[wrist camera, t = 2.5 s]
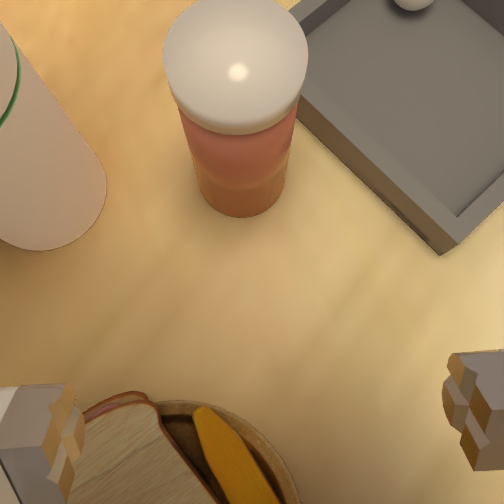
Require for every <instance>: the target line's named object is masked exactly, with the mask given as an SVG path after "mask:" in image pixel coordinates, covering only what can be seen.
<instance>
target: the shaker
mask: <svg viewBox="0 0 504 504" xmlns="http://www.w3.org/2000/svg"><path fill="white" fill-rule="evenodd" d="M163 64H164V69H165V73H166V76H167V80H168V83H169V87H170V90H171V94H172V96H173V98H174V100H175V102H176V104H177V106H178V109H179V113H180V116H181V120H182V124H183V127H184V131H185V134H186V138H187V142H188V145H189V149H190V153H191V156H192V160H193V163H194V167H195V171H196V174H197V178H198V181H199V185H200V189H201V192H202V194H203V196H204V197H205V199H206V200H207V202H208V203H209V204H210V205H211V206H212V207H213V208H214V209H216V210H217V211H219V212H221V213H223V214H225V215H228V216H232V217H239V218H240V217H251V216H255V215H258V214H260V213H262V212H264V211H266V210H267V209H269V208H270V207H271V206H272V205H273V204H274V203H275V202H276V201H277V199H278V198H279V196H280V194H281V192H282V190H283V186H284V181H285V175H286V170H287V164H288V158H289V152H290V146H291V140H292V135H293V129H294V123H295V117H296V111H297V106H298V100H299V98H300V95H301V93H302V89H303V85H304V81H305V75H306V69H307V64H308V46H307V41H306V38H305V35H304V32H303V30H302V28H301V27H300V25H299V23H298V22H297V20H296V19H295V18H294V17H293V16H292V15H291V14H290V13H289V11H287V10H286V9H285V8H284V7H282V6H281V5H279V4H278V3H276V2H274V1H272V0H200V1H198V2H196V3H194V4H193V5H191V6H189V7H188V8H187V9H186V10H185V11H183V12H182V13H181V14H180V15H179V16H178V17H177V19H176V20H175V21H174V23H173V24H172V26H171V27H170V29H169V31H168V33H167V36H166V39H165V42H164V47H163Z"/></svg>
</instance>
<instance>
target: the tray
mask: <svg viewBox="0 0 504 504" xmlns="http://www.w3.org/2000/svg"><path fill="white" fill-rule="evenodd" d="M289 13H290V14H291V15H292V16H293V17H294V18H295V19H296V20H297V22H298V23H299V25H300V27H301V28H302V30H303V32H304V35H305V38H306V41H307V46H308V64H307V69H306V75H305V81H304V85H303V89H302V93H301V95H300V98H299V100H298V106H297V111H296V117H297V118H298V119H299V120H300V121H301V122H302V123H303V124H304V125H305V126H306V127H307V128H308V129H309V130H310V131H311V132H312V133H313V134H314V135H315V136H316V137H317V138H318V139H320V140H321V141H322V142H323V143H324V144H325V145H326V146H327V147H328V148H329V149H330V150H331V151H332V152H333V153H334V154H335V155H336V156H337V157H338V158H339V159H340V160H341V161H342V162H343V163H344V164H345V165H346V166H348V167H349V168H350V169H351V170H352V171H353V172H354V173H355V174H356V175H357V176H358V177H359V178H360V179H361V180H362V181H363V182H364V183H365V184H366V185H367V186H368V187H369V188H370V189H371V190H372V191H373V192H374V193H376V194H377V195H378V196H379V197H380V198H381V199H382V200H383V201H384V202H385V203H386V204H387V205H388V206H389V207H390V208H391V209H392V210H393V211H394V212H395V213H396V214H397V215H398V216H399V217H400V218H401V219H402V220H404V221H405V222H406V223H407V224H408V225H409V226H410V227H411V228H412V229H413V230H414V231H415V232H416V233H417V234H418V235H419V236H420V237H421V238H422V239H423V240H424V241H425V242H426V243H427V244H428V245H429V246H430V247H431V248H433V249H434V250H435V251H436V252H437V253H438V254H439V255H440V256H441V255H442V254H444V253H446V252H447V251H449V250H450V249H452V248H454V247H455V246H457V245H458V244H460V243H461V242H462V241H463V240H464V239H465V238H466V237H467V236H468V235H469V234H470V233H471V232H472V231H473V230H474V229H475V228H476V227H477V226H478V225H479V224H480V223H481V222H482V221H483V220H484V219H485V218H486V217H487V216H488V215H489V214H490V213H491V212H492V211H493V210H495V209H496V208H497V207H498V206H499V205H500V204H501V203H502V202H503V201H504V0H434V1H433V2H432V3H431V4H430V5H428V6H427V7H425V8H423V9H420V10H416V11H409V10H405V9H403V8H401V7H400V6H398V5H397V4H396V3H395V1H394V0H301V1H300V2H299V3H298V4H296V5H295V6H294V7H292V8H291V9H290V10H289Z"/></svg>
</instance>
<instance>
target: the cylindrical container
mask: <svg viewBox="0 0 504 504" xmlns="http://www.w3.org/2000/svg"><path fill="white" fill-rule="evenodd" d="M106 190H107V182H106V176H105V171H104V169H103V167H102V164H101V162H100V161H99V159H98V158H97V156H96V155H95V153H94V152H93V150H92V149H91V148H90V146H89V145H88V143H87V142H86V141H85V139H84V138H83V136H82V135H81V134H80V132H79V131H78V130H77V128H76V127H75V125H74V124H73V123H72V121H71V120H70V118H69V117H68V116H67V114H66V113H65V111H64V110H63V109H62V107H61V106H60V104H59V103H58V102H57V100H56V99H55V97H54V96H53V95H52V93H51V92H50V90H49V89H48V88H47V86H46V85H45V83H44V82H43V81H42V79H41V78H40V76H39V75H38V74H37V72H36V71H35V69H34V68H33V67H32V65H31V64H30V62H29V61H28V60H27V58H26V57H25V55H24V54H23V53H22V51H21V50H20V49H19V47H18V46H17V44H16V43H15V42H14V40H13V39H12V37H11V36H10V35H9V33H8V32H7V30H6V29H5V28H4V26H3V25H2V23H1V22H0V239H1V240H3V241H5V242H7V243H9V244H11V245H13V246H16V247H18V248H21V249H26V250H32V251H45V250H51V249H55V248H60V247H62V246H64V245H67V244H69V243H71V242H73V241H74V240H76V239H78V238H79V237H81V236H82V235H83V234H84V233H85V232H86V231H87V230H88V229H90V227H91V226H92V225H93V224H94V222H95V221H96V220H97V218H98V216H99V214H100V212H101V210H102V208H103V205H104V202H105V198H106Z"/></svg>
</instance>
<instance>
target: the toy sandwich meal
mask: <svg viewBox="0 0 504 504" xmlns="http://www.w3.org/2000/svg"><path fill="white" fill-rule="evenodd" d="M82 414H83V417H84V423H85V437H84V445H83V448H82V452H81V455H80V456H79V457H78V458H77V459H76V460H75V461H74V462H73V463H72V467H73V470H74V472H75V476H74V480H73V483H72V487H71V490H70V493H69V497H68V500H67V504H301V502H300V499H299V495H298V492H297V489H296V487H295V484H294V482H293V479H292V477H291V475H290V473H289V471H288V469H287V467H286V465H285V464H284V462H283V460H282V459H281V457H280V456H279V454H278V453H277V452H276V450H275V449H274V448H273V446H272V445H271V444H270V443H269V442H268V441H267V440H266V439H265V438H264V437H263V436H262V435H261V434H260V433H259V432H258V431H257V430H256V429H254V428H253V427H252V426H251V425H249V424H248V423H247V422H245V421H244V420H242V419H241V418H239V417H237V416H236V415H234V414H232V413H230V412H228V411H226V410H223V409H221V408H218V407H216V406H212V405H209V404H205V403H200V402H194V401H181V400H174V401H163V402H157V403H153V402H152V401H149V400H148V398H147V396H146V395H145V394H144V393H142V392H138V391H129V392H125V393H121V394H118V395H115V396H113V397H110V398H108V399H106V400H104V401H102V402H100V403H98V404H96V405H94V406H93V407H91V408H89V409H88V410H86V411H85V412H83V413H82Z"/></svg>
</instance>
